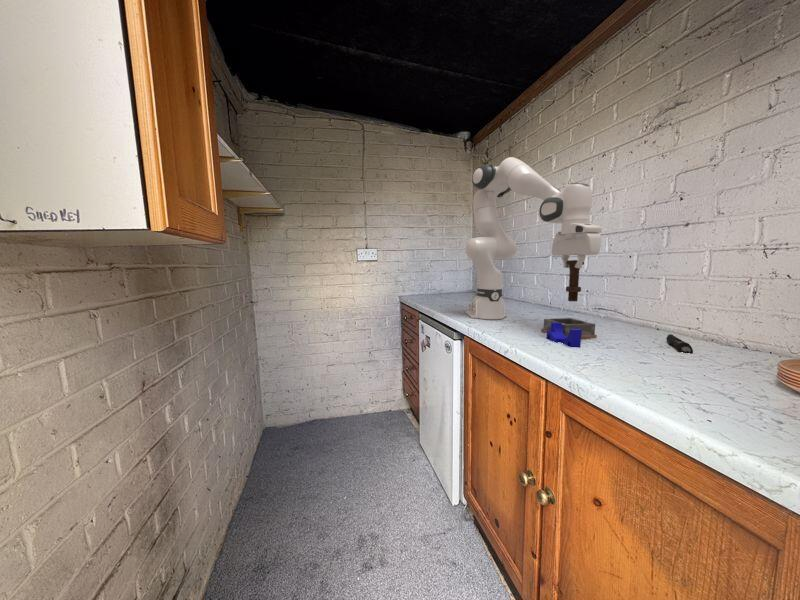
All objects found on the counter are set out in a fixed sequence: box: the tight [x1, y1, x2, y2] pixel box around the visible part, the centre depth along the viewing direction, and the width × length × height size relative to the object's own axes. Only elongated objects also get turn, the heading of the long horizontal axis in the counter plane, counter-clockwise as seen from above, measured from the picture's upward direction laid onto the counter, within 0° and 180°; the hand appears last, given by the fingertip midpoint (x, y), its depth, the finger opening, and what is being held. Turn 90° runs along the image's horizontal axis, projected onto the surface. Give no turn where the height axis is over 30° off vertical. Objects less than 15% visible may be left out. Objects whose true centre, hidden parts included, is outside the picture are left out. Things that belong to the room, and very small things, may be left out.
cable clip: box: [546, 322, 582, 348], centre depth 105 cm, size 12×4×6 cm, turn 5°
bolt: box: [565, 259, 585, 302], centre depth 112 cm, size 6×5×15 cm
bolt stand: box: [541, 317, 598, 340], centre depth 115 cm, size 13×13×5 cm
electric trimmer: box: [665, 333, 694, 355], centre depth 100 cm, size 4×16×3 cm, turn 152°
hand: (572, 267), depth 112 cm, fingers closed on bolt, 4 cm apart
